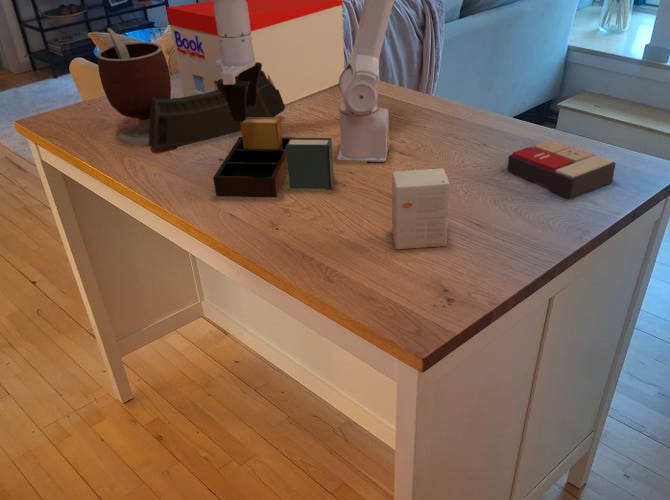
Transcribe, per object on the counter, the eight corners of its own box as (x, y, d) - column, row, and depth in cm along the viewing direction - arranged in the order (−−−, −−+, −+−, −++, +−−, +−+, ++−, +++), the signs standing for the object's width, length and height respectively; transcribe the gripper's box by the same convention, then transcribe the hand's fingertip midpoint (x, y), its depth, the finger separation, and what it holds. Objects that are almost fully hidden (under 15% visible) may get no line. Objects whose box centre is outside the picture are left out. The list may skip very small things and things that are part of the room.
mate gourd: (192, 134, 142) (173, 34, 129) (133, 152, 136) (107, 48, 123) (159, 116, 152) (139, 21, 139) (103, 132, 145) (76, 34, 133)
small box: (441, 229, 105) (445, 167, 99) (446, 247, 101) (451, 183, 94) (391, 232, 105) (391, 170, 99) (394, 250, 101) (395, 186, 94)
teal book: (333, 183, 120) (331, 137, 115) (331, 191, 118) (328, 145, 112) (293, 182, 121) (289, 137, 116) (290, 190, 119) (285, 144, 113)
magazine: (132, 113, 127) (260, 38, 132) (127, 108, 129) (253, 35, 135) (174, 185, 140) (289, 114, 145) (168, 180, 142) (282, 110, 147)
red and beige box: (551, 136, 123) (617, 158, 112) (548, 159, 126) (613, 182, 115) (507, 151, 119) (572, 175, 108) (505, 174, 121) (568, 199, 111)
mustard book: (284, 158, 129) (280, 117, 124) (281, 164, 127) (276, 123, 121) (249, 157, 130) (244, 117, 125) (245, 163, 127) (240, 122, 122)
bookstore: (183, 103, 158) (165, 7, 144) (288, 67, 177) (280, -21, 163) (239, 122, 146) (225, 19, 133) (345, 81, 165) (342, -13, 152)
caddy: (296, 156, 130) (294, 137, 128) (277, 199, 116) (274, 178, 114) (242, 156, 132) (239, 136, 129) (216, 198, 118) (212, 177, 115)
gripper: (223, 23, 120) (234, 99, 128) (199, 45, 109) (213, 126, 117) (261, 22, 119) (269, 99, 127) (240, 45, 108) (251, 127, 116)
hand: (245, 112), depth 122 cm, fingers open, 7 cm apart
